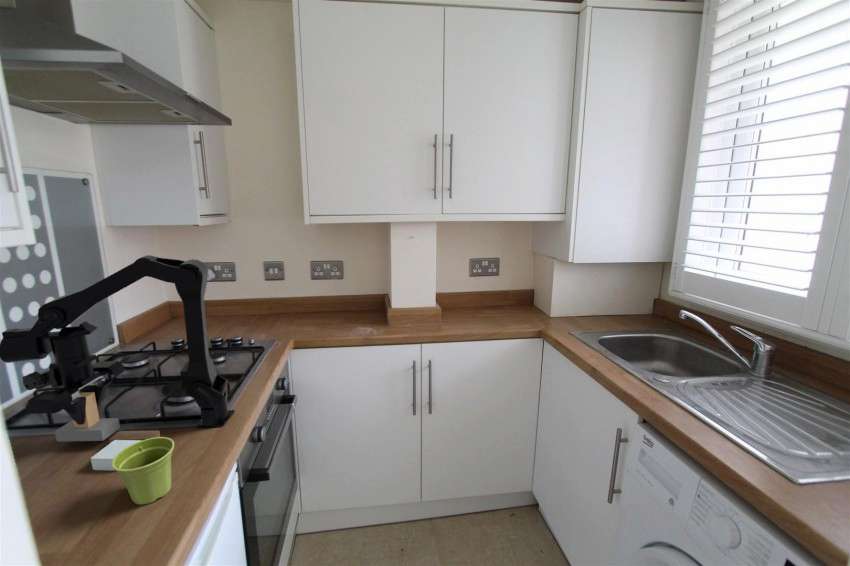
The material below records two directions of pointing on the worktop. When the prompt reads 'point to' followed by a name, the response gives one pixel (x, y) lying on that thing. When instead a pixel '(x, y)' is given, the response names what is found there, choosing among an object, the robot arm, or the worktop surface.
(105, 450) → the tile
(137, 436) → the stop bar
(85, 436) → the tan block grey base
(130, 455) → the plant pot
